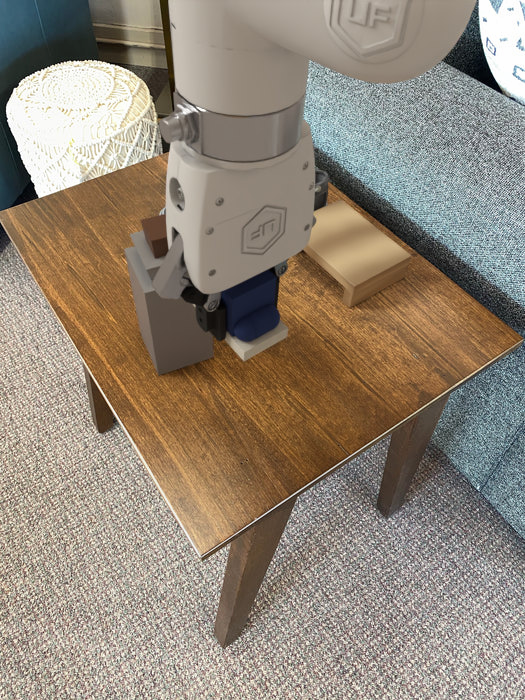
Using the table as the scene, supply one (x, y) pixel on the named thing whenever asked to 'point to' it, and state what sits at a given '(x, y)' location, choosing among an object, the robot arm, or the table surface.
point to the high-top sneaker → (253, 315)
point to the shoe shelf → (355, 252)
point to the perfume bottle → (163, 305)
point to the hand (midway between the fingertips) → (238, 314)
